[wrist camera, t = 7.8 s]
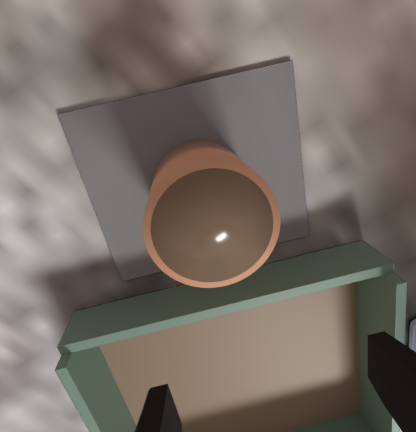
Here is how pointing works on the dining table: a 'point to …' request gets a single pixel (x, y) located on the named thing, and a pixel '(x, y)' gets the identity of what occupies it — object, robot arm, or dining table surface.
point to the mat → (179, 133)
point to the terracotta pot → (209, 216)
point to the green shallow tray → (243, 348)
